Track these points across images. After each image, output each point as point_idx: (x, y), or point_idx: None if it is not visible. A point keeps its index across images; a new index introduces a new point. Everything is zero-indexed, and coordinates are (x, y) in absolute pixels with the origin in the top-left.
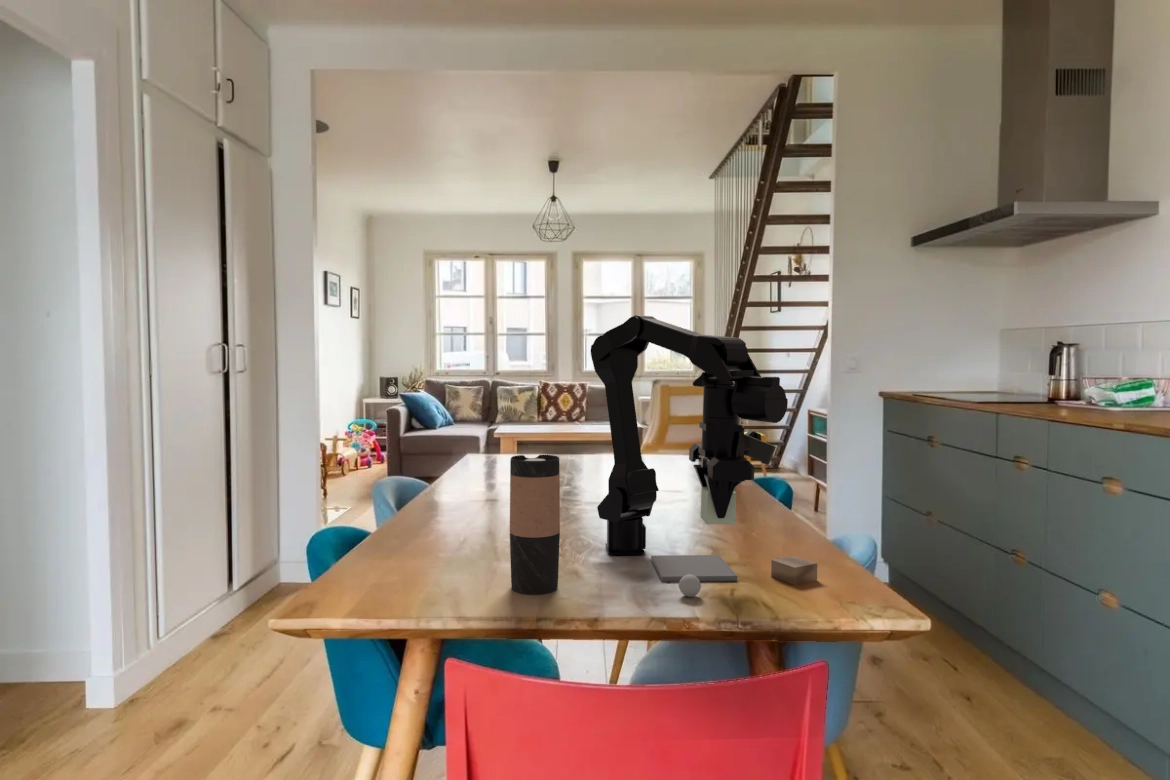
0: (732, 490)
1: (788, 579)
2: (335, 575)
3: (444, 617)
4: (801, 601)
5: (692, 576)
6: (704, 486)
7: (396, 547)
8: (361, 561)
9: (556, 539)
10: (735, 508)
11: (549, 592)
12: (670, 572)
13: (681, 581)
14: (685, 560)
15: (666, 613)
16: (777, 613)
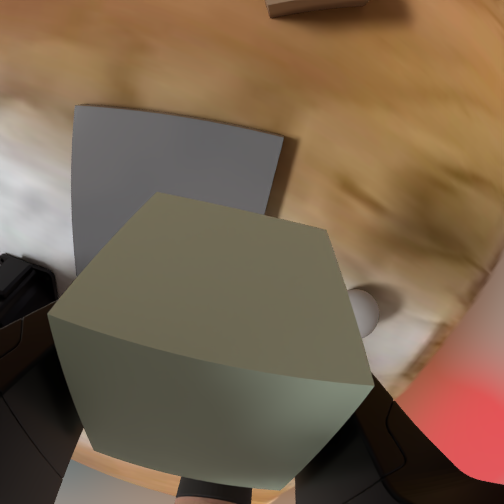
0: (439, 460)
1: (343, 5)
2: (164, 492)
3: (292, 482)
4: (471, 82)
5: (366, 328)
6: (75, 434)
7: (79, 455)
8: (125, 478)
9: (237, 496)
10: (344, 287)
11: None
12: None
13: None
14: (113, 217)
15: (401, 356)
16: (500, 184)
